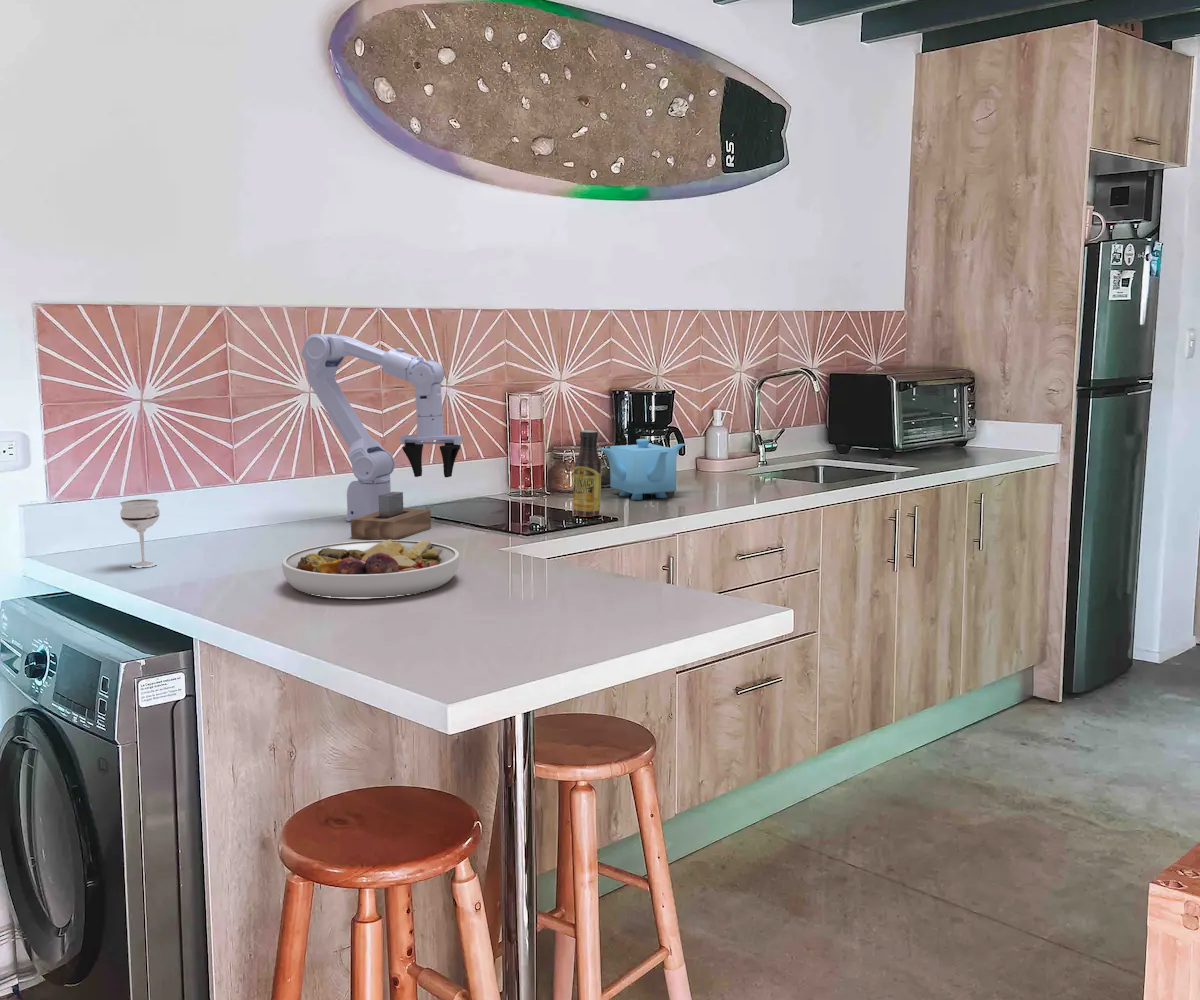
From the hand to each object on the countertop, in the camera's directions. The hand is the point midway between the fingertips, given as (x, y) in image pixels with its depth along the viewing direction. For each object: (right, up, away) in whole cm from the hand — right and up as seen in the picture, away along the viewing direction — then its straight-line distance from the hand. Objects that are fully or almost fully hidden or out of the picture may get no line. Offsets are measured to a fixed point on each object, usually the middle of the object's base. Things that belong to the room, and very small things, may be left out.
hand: (433, 476), depth 257 cm
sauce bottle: (+34, -9, +9) cm, 37 cm away
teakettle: (+49, -5, +38) cm, 62 cm away
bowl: (-2, -20, -57) cm, 60 cm away
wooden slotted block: (-7, -12, -11) cm, 18 cm away
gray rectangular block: (-7, -12, -11) cm, 18 cm away
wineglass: (-48, -18, -42) cm, 66 cm away
